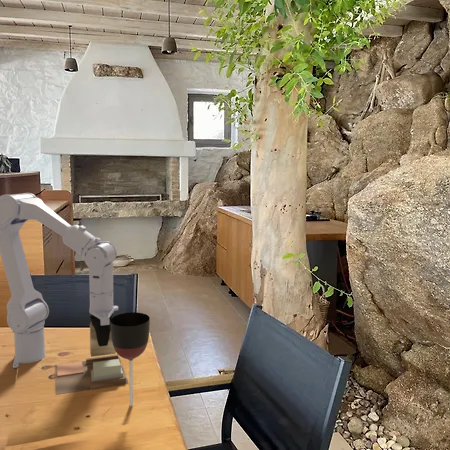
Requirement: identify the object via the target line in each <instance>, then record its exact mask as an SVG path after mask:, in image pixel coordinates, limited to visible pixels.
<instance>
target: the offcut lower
mask: <svg viewBox="0 0 450 450" xmlns="http://www.w3.org/2000/svg"><path fill="white" fill-rule="evenodd" d="M121 377H123V371H122V368H121V373H118V374H112V375H105V376H98V377H94V372H93V370H91V380H92V382H95V381H101V380H108V379H115V378H121Z"/></svg>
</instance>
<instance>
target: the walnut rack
mask: <svg viewBox="0 0 450 450" xmlns="http://www.w3.org/2000/svg"><path fill="white" fill-rule="evenodd" d="M114 359H119V361H120V364H121V368H122V371H123V377H121V378H115V379H108V380H101V381H95V382H92V380H91V370H93V362H100V361H107V360H114ZM54 376H55V377H54V379H55V380H54V383H55V386H54V387H55V389H54V390H55V395H57V396H58V395H65V394H69V393H77V392H82V391H89V390H96V389H102V388H108V387H113V386H121V385H126V384H129V379H128V377H127V375H126V373H125V369H124V366H123V363H122V361H121V359H120V356H119V355H118V354H110V355H102V356H94V357H90V358H86V359H85V360H80V361H74V362H68V363H67V362H66V363H60V364H59V363H58V364H57V363H56V364H54Z"/></svg>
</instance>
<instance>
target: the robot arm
mask: <svg viewBox="0 0 450 450" xmlns="http://www.w3.org/2000/svg"><path fill="white" fill-rule="evenodd" d="M29 220H33V221H34V220H35V221H37V222H38V223H40V224H42V225H43V226H45V227H47V228H48V229H50V230H52V231H53V232H55V233H56V234H58V235H59V236H61V238H62V243H63V244H64V245H65V246H67V247H68V248H69V249H70V250H72V251H74V252H75V253H77V255H79V256H81V257H82V258H83V260H84V263H85V264H86V265H85V266H87V267H88V277H89V279H88V280H89V308H88V309H89V311H88V312H89V318H90V323H92V325H93V327H94V329H95V331H96V336H97V341H98V345H99V346H107V345H108V341H109V336H110V331H111V325H110V320H111V318H112V317H113V315H114V312H115V311H119V305H114V263H113V262H115V260H116V258H117V252H118V251H117V249H116V247H115V246H114V245H113V243H112V242H111V241H107V240H105V241H104V240H103V241H102V239H101V238H100V237H96V236H95V235H93V234H92V233H90V232H89V231H87V230H86V229H87V227H86V226H84V225H83V224H82V225H78V224H73V225H71V224H70V223H68V222H67V221H66V220H65V219H64V218H62V217H61V216H60V215H58V214H57V213H56V212H55V211H54V210H52V209H51V208H50V207H49V206H48V205H46V204H45V203H44V201H43V200H42V199H41V198H39V197H37V196H36V195H35V194H33V193H31V192H23V193H16V194H15V193H14V194H13V193H12V194H7V193H6V194H2V195H0V257H1V262H2V266H3V269H4V273H5V277H6V279H7V284H8V287H9V290H10V291H9V292H10V294H11V296H10V298H9V300H8V302H7V304H6V307H5V308H6V313H7V316H6V322H7V325H8V327H9V329H10V330H11V331H12V333H13V339H14V358H13V363H12V369H18V368H19V367H20V364H32V363H36V362H39V361H42V360H43V359H44V358H45V357H46V347H45V346H46V344H45V326H44V325H45V320H47V318H48V316H49V313H50V309H49V305H48V304H47V302H46V301H45V300H44V298H43V295H42V293H41V292H40V291H38V290H36V289H35V288H34V284H33V283H34V282H33V281H32V280H33V279H32V276H31V273H30V269H29V265H28V262H27V259H26V254H25V250H24V247H23V244H22V243H23V242H22V240H21V236H20V230H21V229H22V227H23V225H25V223H26V222H28V221H29Z"/></svg>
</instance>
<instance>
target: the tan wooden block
mask: <svg viewBox="0 0 450 450" xmlns="http://www.w3.org/2000/svg"><path fill="white" fill-rule="evenodd" d="M89 345H90V348H89V351H90V358H95V357H103V356H110V355H117V353H116V351H115V349H114V347H113V343H112V337H111V331H110V336H109V341H108V345H107V346H99V345H98V341H97V336H96V331H95V329H94V327H93V325H92V323H91V322H89Z"/></svg>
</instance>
